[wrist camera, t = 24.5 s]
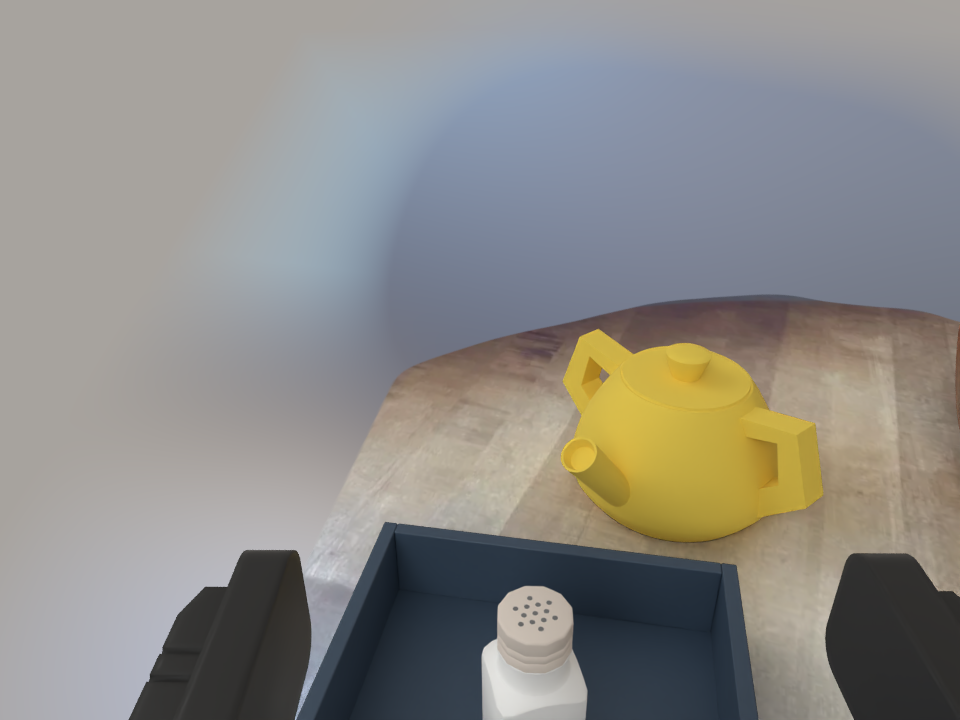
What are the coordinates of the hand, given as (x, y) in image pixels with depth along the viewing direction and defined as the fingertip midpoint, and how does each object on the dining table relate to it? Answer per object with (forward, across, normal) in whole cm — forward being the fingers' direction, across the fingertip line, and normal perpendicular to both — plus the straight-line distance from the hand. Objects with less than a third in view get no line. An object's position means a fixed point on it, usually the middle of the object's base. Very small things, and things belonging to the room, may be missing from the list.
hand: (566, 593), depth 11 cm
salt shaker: (+14, -1, +26) cm, 29 cm away
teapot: (+34, -10, +26) cm, 44 cm away
